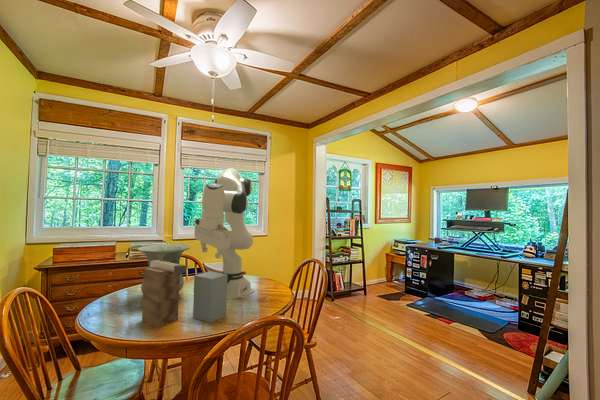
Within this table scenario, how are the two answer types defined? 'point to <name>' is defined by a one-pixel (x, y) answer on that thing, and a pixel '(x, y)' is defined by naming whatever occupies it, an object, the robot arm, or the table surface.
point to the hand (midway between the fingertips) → (211, 254)
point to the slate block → (210, 296)
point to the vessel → (164, 256)
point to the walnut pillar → (160, 296)
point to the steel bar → (168, 266)
